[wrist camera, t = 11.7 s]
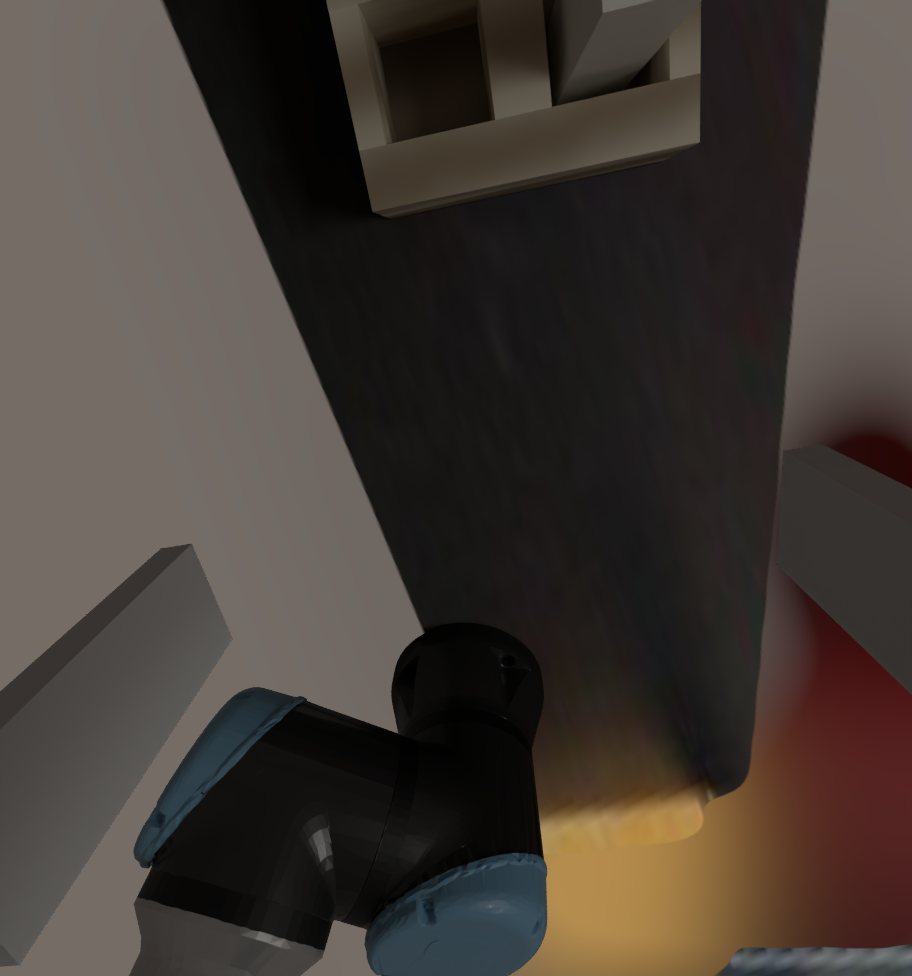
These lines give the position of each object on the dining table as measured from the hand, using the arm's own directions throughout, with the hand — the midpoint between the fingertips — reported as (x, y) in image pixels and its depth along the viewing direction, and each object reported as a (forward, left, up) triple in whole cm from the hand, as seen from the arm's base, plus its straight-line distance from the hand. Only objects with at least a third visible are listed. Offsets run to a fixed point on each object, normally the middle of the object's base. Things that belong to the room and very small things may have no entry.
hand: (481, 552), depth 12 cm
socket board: (+17, -4, -30) cm, 35 cm away
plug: (+15, -9, -29) cm, 34 cm away
